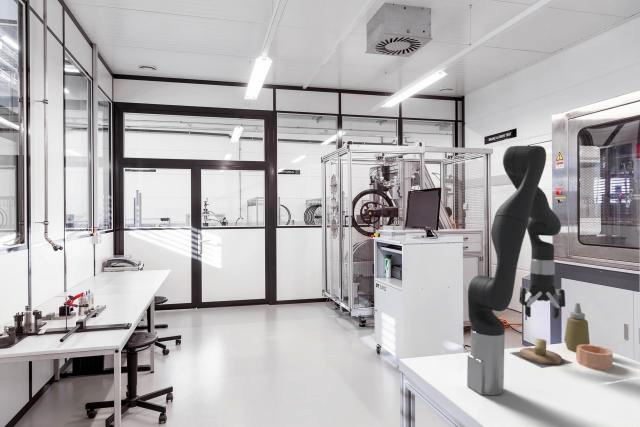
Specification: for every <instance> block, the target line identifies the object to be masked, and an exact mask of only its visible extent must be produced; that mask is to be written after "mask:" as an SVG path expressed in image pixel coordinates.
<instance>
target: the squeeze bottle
mask: <svg viewBox="0 0 640 427" xmlns="http://www.w3.org/2000/svg"><path fill="white" fill-rule="evenodd" d="M569 314H570V315H569V316H570V317H567V320H566V327H565V332H564V333H565V334H564V340H563V341H564V342H565V346H566V348H567V350H568V351H570V352H573V353H576V351H577V346H578V345H582V344H587V345H591V344H590V331H589V321H588V320H586V314H585V313H584V312H582V309H581V304H580V303H577V302H576V303H575V306H574V309H573V311H570V312H569Z"/></svg>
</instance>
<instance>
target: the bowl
mask: <svg viewBox="0 0 640 427" xmlns="http://www.w3.org/2000/svg"><path fill="white" fill-rule="evenodd" d="M575 353H576V359H575V360H576V362H577V363H578V365H580V366H582V367H585V368H588V369H593V370H597V371H610V370H612V369H613V362H614V360H613V358H614V356H613V355H614V352H613V351H612V350H611V349H609V348H606V347H603V346H600V345H595V344H589V345H587V344H582V345H578V346H577V351H576V352H575Z"/></svg>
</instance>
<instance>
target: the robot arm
mask: <svg viewBox="0 0 640 427" xmlns="http://www.w3.org/2000/svg"><path fill="white" fill-rule="evenodd" d="M546 161H547V151H546V149H545V147H544V146H541V145H513V146H509V147H507V148H506V150H505V151H504V154H503V157H502V166H503V169H504V171H505V173H506V175H507V177H508V179H509V180H510V182H511V183H512V185H513V186H514V188H515V189H516V191H515V192H514V193H512V194H511V196H509V198H507V199H506V200H505V201H504V202H503V203H502V204H501V205H500V206H499V207H498V209H497V210H496V212H495V215H494V218H493V220H492V221H493V222H492V225H491V229H490V230H491V231H490V236H491V241H492V244H493V247H494V250H495V254H496V266H495V272H494V276H493V277H492V276H487V275H476V276H474V277H473V278H471V280H470V281H469V282H470V283H469V285H468V290H467V306H468V307H467V308H468V311H467V312H468V320H469V323H470V354H467V366H466V367H467V369H466V370H467V375H466V376H467V378H466V379H467V380H466V386H467V387H468V388H469V389H471V390H473V391H475V392H476V393H478V394H479V395H483V396H484V395H486V396H499V395H502V394H503V393H504V386H505V385H504V382H505V376H504V375H505V341H506V340H505V339H506V338H505V337H506V336H505V335H506V334H505V332H506V326H505V325H506V324H504V322H503V321H502V320H501V319H500V318H499V317H497V315H496V314H495V313H494V311H496V312H503V311H505V310H507V308H508V307H509V306H510V303H511V302H512V299H513V295H514V294H513V293H514V290H515V282H516V276H517V275H516V274H517V268H518V263H519V258H520V253H521V249H522V245H523V242H524V239H525V236H526V231H527V234H528V236H529V237H528V238H529V241H530V245H531V259H530V268H529V270H530V271H529V272H530V274H529V275H530V276H529V280H530V281H529V283H530V284H529V287H525V286H520V288H519V289H520V290H519V299H518V300H519V303H520V304H521V305H522V306H524V314H525V316H526V317H528V318H531V316H532V314H531V313H532V312H531V311H532V310H531V309H532V308H531V306H532V305H533V304H534V303H535V302H536V301H538V302H541V301H542V302H543V301H544V302H549V303H550V304H552V318H553V319H555V320H557V319H558V318H559V316H560V308H565V307H566V293H565V290H564V289H562V288H561V287H560V288H555V281H556V280H555V275H556V274H555V273H556V270H555V268H556V265H555V245H554V243H551V242H548V241H544V240H542V239H541V237H540V236H543V237H544V236H547V237H553V236H554V237H555V236H557V235H558V234H559V233H560V232H561V229H562V224H561V220H560V219H559V217H558V216H557V214H556V213H555V212H554V211H553V209H552V208H551V207H550V204H549V200H548V197H547V194H546V193H545V192H544V191H543V190H542V188H540V187H539V184H540V181H541V179H542V176H543V173H544V170H545V167H546ZM528 293H530V296H528V298H527V299H526V296H527V294H528ZM555 294H557V296H558V302H557V301H556V299H555V298H554V297H553V296H554V295H555Z"/></svg>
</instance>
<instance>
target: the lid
mask: <svg viewBox="0 0 640 427" xmlns="http://www.w3.org/2000/svg"><path fill="white" fill-rule="evenodd" d="M519 352H520V356H521V357H522V358H524V359H526V360H528V361H531V362H534V363H538V364H544V365H557V364H560V363H561V362H562V356H561V355H560V354H558V353H557V352H555V351H552V350H548V349H547V340H545V339H542V338H536V339H534V347H525V348H521V349H520V350H519ZM524 359H523V360H524ZM526 360H525V361H526ZM528 361H527V362H528ZM557 366H558V365H557Z"/></svg>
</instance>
